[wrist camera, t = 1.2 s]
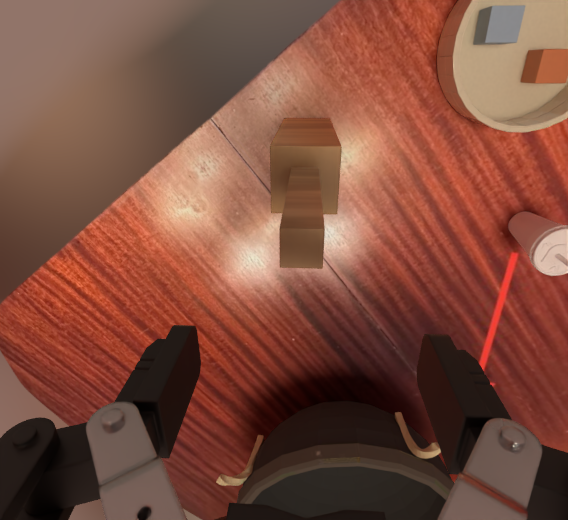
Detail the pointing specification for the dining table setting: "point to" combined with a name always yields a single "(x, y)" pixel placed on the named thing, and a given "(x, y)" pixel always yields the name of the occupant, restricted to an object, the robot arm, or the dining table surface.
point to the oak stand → (305, 159)
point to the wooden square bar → (302, 221)
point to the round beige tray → (503, 67)
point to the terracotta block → (546, 66)
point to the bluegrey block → (499, 25)
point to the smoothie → (542, 242)
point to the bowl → (345, 465)
